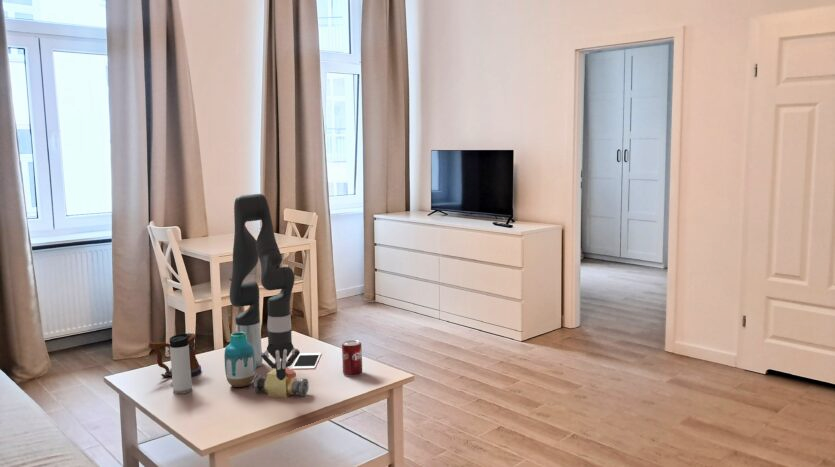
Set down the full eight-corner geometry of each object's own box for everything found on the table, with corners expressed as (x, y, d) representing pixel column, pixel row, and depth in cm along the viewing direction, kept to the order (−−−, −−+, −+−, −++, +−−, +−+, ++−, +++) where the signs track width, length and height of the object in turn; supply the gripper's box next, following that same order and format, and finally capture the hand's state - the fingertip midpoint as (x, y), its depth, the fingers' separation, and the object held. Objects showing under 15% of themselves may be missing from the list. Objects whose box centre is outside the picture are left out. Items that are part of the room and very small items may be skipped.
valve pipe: (253, 394, 229) (252, 369, 227) (262, 388, 234) (261, 363, 233) (301, 399, 224) (299, 373, 222) (308, 392, 229) (307, 367, 228)
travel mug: (196, 387, 236) (192, 333, 233) (184, 394, 230) (180, 339, 227) (181, 386, 238) (177, 332, 235) (169, 392, 232) (165, 337, 229)
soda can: (364, 370, 250) (363, 339, 249) (360, 377, 243) (359, 345, 241) (345, 370, 251) (344, 339, 249) (341, 377, 244) (339, 345, 242)
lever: (273, 366, 228) (272, 362, 228) (283, 364, 230) (282, 360, 230) (286, 379, 216) (286, 374, 216) (297, 376, 218) (297, 372, 218)
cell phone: (321, 354, 271) (321, 352, 271) (314, 370, 253) (314, 367, 253) (299, 355, 271) (299, 353, 271) (291, 370, 253) (291, 368, 253)
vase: (240, 378, 245) (236, 328, 242) (262, 382, 240) (259, 331, 237) (219, 388, 235) (216, 336, 233) (243, 392, 231) (239, 339, 228)
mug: (154, 384, 240) (150, 345, 238) (149, 375, 250) (145, 337, 248) (204, 374, 249) (201, 336, 247) (197, 366, 259) (195, 329, 257)
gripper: (260, 333, 209) (262, 385, 211) (302, 329, 214) (303, 380, 216) (257, 327, 216) (259, 378, 218) (297, 323, 221) (299, 373, 223)
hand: (281, 379), depth 217 cm, fingers closed
